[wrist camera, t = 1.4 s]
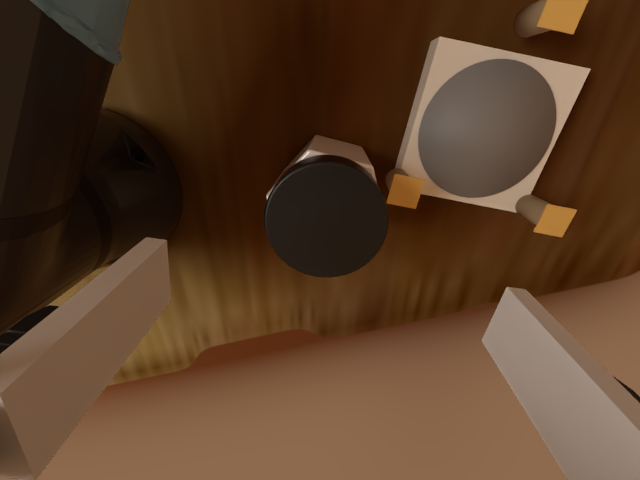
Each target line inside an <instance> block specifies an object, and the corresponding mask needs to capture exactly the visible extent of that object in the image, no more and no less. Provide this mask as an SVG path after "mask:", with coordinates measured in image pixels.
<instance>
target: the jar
mask: <svg viewBox="0 0 640 480" xmlns="http://www.w3.org/2000/svg"><path fill="white" fill-rule="evenodd" d="M266 199H267V202H266V206H265V211H264V226H265V232H266V235H267V238H268V240H269V243H270V245H271V246H272V248H273V250H274V251H275V253H276V254H277V255H278V256H279V257H280V258H281V259H282V260H283V261H284V262H285V263H286V264H288V265H289V266H290V267H292V268H294V269H295V270H297V271H299V272H302V273H304V274H307V275H311V276H316V277H337V276H342V275H346V274H349V273H352V272H354V271H356V270H358V269H360V268H361V267H363V266H364V265H366V264H367V263H368V262H369V261H370V260H371V259H372V258H373V257H374V256H375V255H376V254H377V252H378V251H379V249H380V248H381V246H382V244H383V242H384V240H385V237H386V233H387V229H388V210H387V205H386V202H385V199H384V197H383V195H382V193H381V191H380V189H379V187H378V185H377V181H376V176H375V172H374V168H373V166H372V164H371V162H370V160H369V158H368V156H367V155H366V153H365V151H364V149H363V147H361V146H358V145H354V144H350V143H346V142H343V141H339V140H335V139H331V138H327V137H324V136H320V135H315V136H314V137H313V138H312V139H311V140H310V141H309V142H308V143H307V145H306V146H305V147H304V148H303V149H302V150H301V151H300V152H299V153H298V154H297V155H296V157H295V158H294V159H293V160H292V161H291V162H290V163H289V164H288V165H287V166H286V168H285V169H284V170H283V172H282V173H281V175H280V176H279V177H278V179H277V180H276V182H275V183H274V185H273V186H272V187H271V189H270V190H269V192H268V193H267V195H266Z"/></svg>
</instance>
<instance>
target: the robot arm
mask: <svg viewBox="0 0 640 480" xmlns="http://www.w3.org/2000/svg"><path fill="white" fill-rule="evenodd" d="M129 1H130V0H0V477H5V478H15V479H24V480H36V479H37V478H38V477H39V475H40V474H41V473H42V471H43V470H44V469H45V467H46V466H47V465H48V463H49V462H50V461H51V459H52V458H53V457H54V455H55V454H56V453H57V451H58V450H59V449H60V447H61V446H62V445H63V443H64V442H65V440H66V439H67V438H68V437H69V435H70V434H71V433H72V431H73V430H74V429H75V427H76V426H77V425H78V423H79V422H80V421H81V420H82V418H83V417H84V415H85V414H86V413H87V412H88V410H89V409H90V407H91V406H92V404H94V402H95V401H96V399H97V398H98V397H99V395H100V394H101V393H102V392H103V390H104V389H105V388H106V386H107V385H108V384H109V382H110V381H111V380H112V378H113V377H114V376H115V374H116V373H117V372H118V370H119V369H120V368H121V366H122V365H123V364H124V362H125V361H126V360H127V358H128V357H129V356H130V354H131V353H132V352H133V350H134V349H135V348H136V346H137V345H138V344H139V342H140V341H141V340H142V338H143V337H144V336H145V334H146V333H147V332H148V330H149V329H150V328H151V326H152V325H153V324H154V322H155V321H156V320H157V318H158V317H159V316H160V314H161V313H162V312H163V310H164V309H165V308H166V306H167V305H168V304H169V302H170V301H171V291H170V277H169V262H168V248H167V240H166V239H167V238H168V237H169V236H170V235H171V233H172V232H173V231H174V229H175V227H176V225H177V223H178V221H179V218H180V214H181V209H182V192H181V186H180V182H179V178H178V175H177V173H176V170H175V168H174V166H173V164H172V162H171V160H170V158H169V157H168V155H167V154H166V152H165V151H164V149H163V148H162V147H161V146H160V144H159V143H158V142H157V141H156V140H155V139H154V138H153V137H152V136H151V135H150V134H149V133H148V132H147V131H146V130H144V129H143V128H142V127H141V126H139V125H138V124H136V123H135V122H133V121H132V120H130V119H128V118H126V117H124V116H122V115H120V114H118V113H115V112H112V111H109V110H106V109H101V108H102V104H103V101H104V97H105V94H106V91H107V87H108V84H109V80H110V77H111V73H112V70H113V67H114V64H116V65H118V63H119V62H120V60H121V57H122V55H121V53H120V51H119V45H120V41H121V36H122V32H123V27H124V23H125V18H126V14H127V9H128V5H129ZM110 265H111V266H110ZM107 266H110V267H108V268H107V269H106V270H105V271H103V272H102V273H101V274H100V275H98V276H97V277H96V278H95V279H93V280H92V281H91V282H90V283H88V284H87V285H86V286H85V287H83V288H82V289H81V290H80V291H78V292H77V293H76V294H75V295H73V296H72V297H71V298H70V299H68V300H67V301H66V302H65V303H63V304H62V305H61V306H60V307H59V306H51V305H49V306H47V305H48V304H50V303H51V302H52V301H54V300H55V299H56V298H58V297H59V296H61V295H62V294H63V293H65V292H66V291H67V290H69V289H70V288H71V287H73V286H74V285H75V284H77V283H78V282H80V281H81V280H82V279H84V278H85V277H86V276H88V275H89V274H90V273H92V272H93V271H95V270H96V269H99V268H103V267H107ZM46 306H47V307H46ZM44 307H45V308H44ZM482 342H483V344H484V346H485V347H486V349H487V350H488V352H489V354H490V355H491V357H492V358H493V360H494V362H495V363H496V365H497V366H498V368H499V370H500V371H501V373H502V374H503V376H504V378H505V379H506V381H507V383H508V384H509V386H510V388H511V389H512V391H513V392H514V394H515V396H516V397H517V399H518V400H519V402H520V404H521V405H522V407H523V409H524V410H525V412H526V414H527V415H528V417H529V418H530V420H531V422H532V423H533V425H534V426H535V428H536V430H537V431H538V433H539V435H540V436H541V438H542V439H543V441H544V443H545V444H546V446H547V448H548V449H549V451H550V452H551V454H552V456H553V457H554V459H555V460H556V462H557V464H558V465H559V467H560V468H561V470H562V472H563V473H564V475H565V476H566V478H567V480H640V397H639V396H638V395H637V394H636V393H635V392H634V391H633V390H631V389H630V388H628V387H627V386H626V385H624V384H623V383H622V382H620V381H619V380H618V379H616V378H615V377H613V376H612V375H611V374H610V373H609V372H608V371H607V370H606V369H605V368H604V367H603V366H602V365H601V364H600V363H599V362H598V361H597V360H596V359H595V358H594V357H593V356H592V355H591V354H590V353H589V352H588V351H587V350H586V349H585V348H584V347H583V346H582V345H581V344H580V343H579V342H578V341H577V340H576V339H575V338H574V337H573V336H572V335H571V334H570V333H569V332H568V331H567V330H566V329H565V328H564V327H563V326H562V325H561V324H560V323H559V322H558V321H557V320H556V319H555V318H554V317H553V316H552V315H551V314H550V313H549V312H548V311H547V310H546V309H545V308H544V307H543V306H542V305H541V304H540V303H539V302H538V301H537V300H536V299H535V298H534V297H533V296H532V295H531V294H530V293H529V292H528V291H527V290H526V289H519V288H512V287H506V289H505V292H504V294H503V296H502V298H501V300H500V302H499V304H498V306H497V309H496V311H495V313H494V315H493V317H492V320H491V321H490V323H489V326H488V328H487V330H486V332H485V334H484V336H483V338H482Z"/></svg>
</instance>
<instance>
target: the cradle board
mask: <svg viewBox="0 0 640 480" xmlns="http://www.w3.org/2000/svg"><path fill="white" fill-rule="evenodd" d="M587 2H588V0H539V1H537V2H535V3H533V4H531V5H529V6H527V7H525V8H523V9H522V10H521V11H520V12H519V13H518V14H517V16H516V18H515V21H514V31H515V33H516V34H517V35H518V36H519V37H522V38H527V37H531V36H534V35H537V34H540V33H544V32H547V31H550V30H554V31H559V32H563V33H568V34H574V32H575V29H576V27H577V25H578V23H579V20H580V18H581V16H582V14H583V11H584V9H585V7H586V5H587ZM590 70H591V69H589V68H584V67H580V66H575V65H570V64H566V63H561V62H556V61H552V60H547V59H542V58H538V57H533V56H529V55H524V54H519V53H515V52H510V51H505V50H501V49H496V48H491V47H487V46H482V45H478V44H473V43H468V42H464V41H459V40H454V39H450V38H445V37H438V38H436V39H434V40H433V41H431V42H430V46H429V49H428V53H427V56H426V60H425V63H424V67H423V70H422V74H421V77H420V81H419V84H418V88H417V91H416V95H415V98H414V102H413V105H412V109H411V112H410V116H409V120H408V123H407V127H406V130H405V134H404V137H403V141H402V144H401V148H400V151H399V155H398V158H397V162H396V165H395V169H392V170H390V171H389V172H388V173H387V175H386V177H385V183H386V185H387V187H388V189H389V191H390V192H389V195H388V199H387V202H386V203H387V204H392V205H397V206H403V207H408V208H413V209H416V207H417V204H418V201H419V198H420V195H421V194H424V195H429V196H434V197H439V198H444V199H449V200H455V201H460V202H465V203H470V204H475V205H480V206H485V207H490V208H495V209H500V210H506V211H511V212H516V213H518V214H520V215H521V216H523V217H524V218H526V219H527V220H529V221H531V222H532V223H534V224H535V225H536V227H535V229H534V231H533V232H537V233H542V234H547V235H552V236H557V237H563V235H564V233H565V231H566V229H567V228H568V226H569V224H570V222H571V221H572V219H573V217H574V215H575V213H576V212H577V210H576V209H571V208H566V207H561V206H556V205H552V204H550V203H548V202H546V201H544V200H542V199H540V198H538V197H536V196H534V195H530V194H531V192H532V190H533V188H534V186H535V184H536V182H537V180H538V178H539V176H540V174H541V172H542V169H543V167H544V165H545V163H546V161H547V159H548V157H549V155H550V153H551V151H552V149H553V147H554V145H555V142H556V140H557V138H558V136H559V134H560V132H561V130H562V128H563V126H564V124H565V122H566V120H567V118H568V115H569V113H570V111H571V109H572V107H573V105H574V103H575V101H576V99H577V97H578V95H579V93H580V91H581V88H582V86H583V84H584V82H585V80H586V78H587V76H588V74H589V72H590Z"/></svg>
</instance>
